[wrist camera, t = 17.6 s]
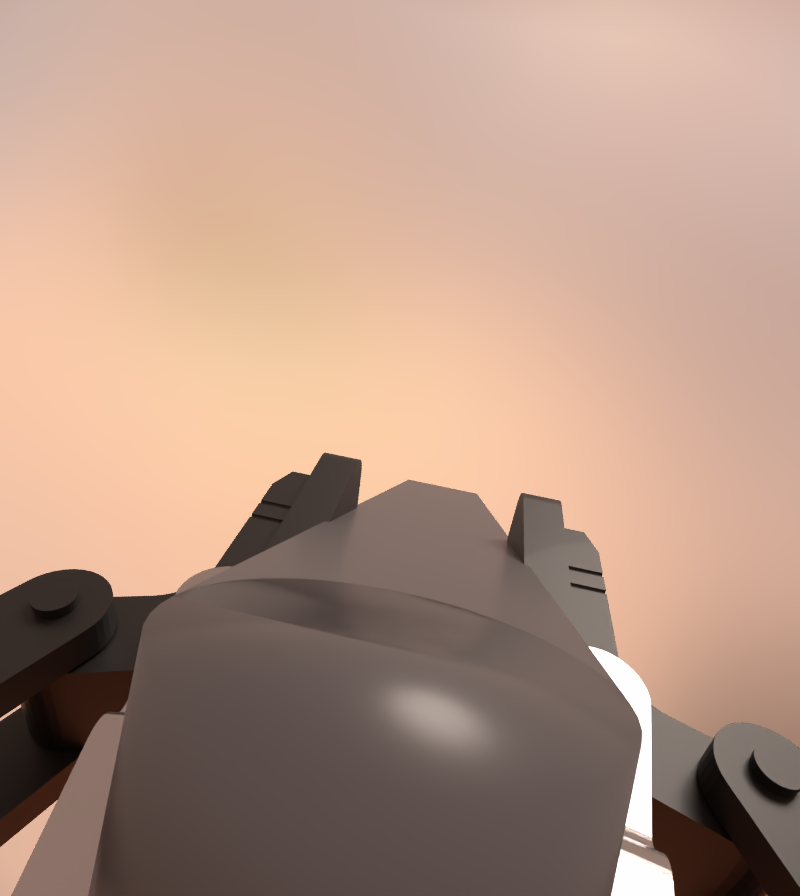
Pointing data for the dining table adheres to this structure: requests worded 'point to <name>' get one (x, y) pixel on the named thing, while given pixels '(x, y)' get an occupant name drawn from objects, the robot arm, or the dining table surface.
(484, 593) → the dark cylinder
